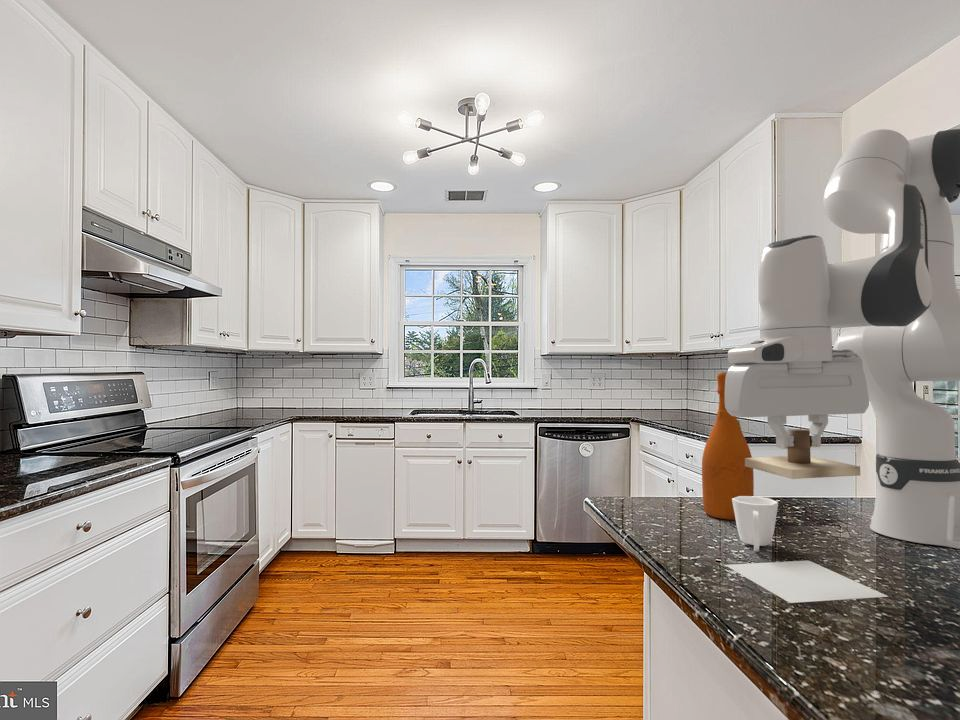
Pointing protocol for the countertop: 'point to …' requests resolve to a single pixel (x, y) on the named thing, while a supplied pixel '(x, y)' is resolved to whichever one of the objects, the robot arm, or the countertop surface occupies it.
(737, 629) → the countertop surface
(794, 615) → the countertop surface
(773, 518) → the cup
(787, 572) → the mat
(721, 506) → the wine bottle
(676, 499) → the countertop surface
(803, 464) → the lid
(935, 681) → the countertop surface
